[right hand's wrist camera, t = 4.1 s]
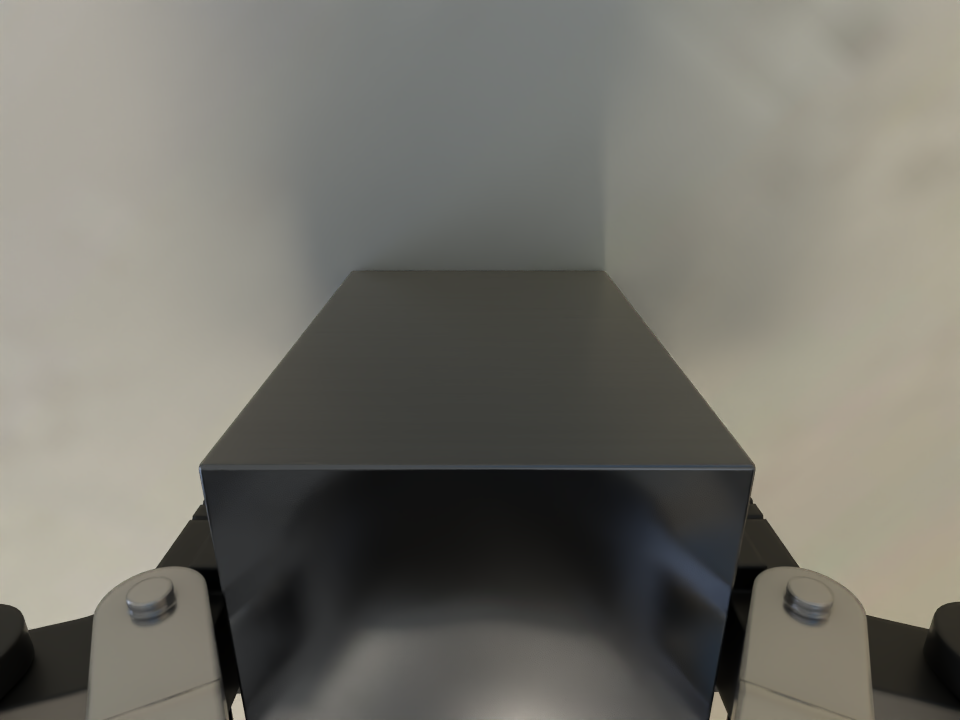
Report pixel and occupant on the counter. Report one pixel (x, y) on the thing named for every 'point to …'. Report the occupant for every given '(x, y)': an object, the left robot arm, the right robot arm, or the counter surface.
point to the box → (477, 510)
